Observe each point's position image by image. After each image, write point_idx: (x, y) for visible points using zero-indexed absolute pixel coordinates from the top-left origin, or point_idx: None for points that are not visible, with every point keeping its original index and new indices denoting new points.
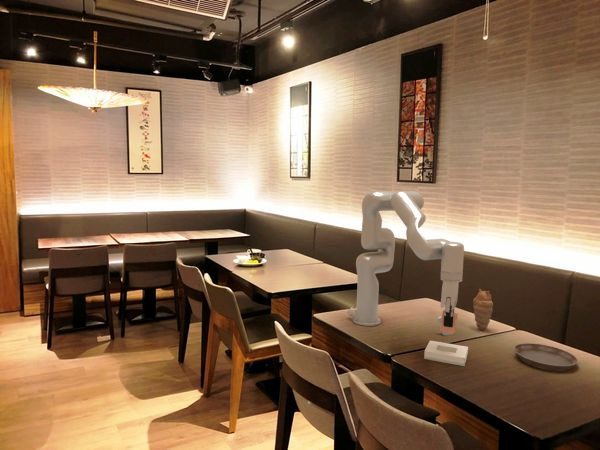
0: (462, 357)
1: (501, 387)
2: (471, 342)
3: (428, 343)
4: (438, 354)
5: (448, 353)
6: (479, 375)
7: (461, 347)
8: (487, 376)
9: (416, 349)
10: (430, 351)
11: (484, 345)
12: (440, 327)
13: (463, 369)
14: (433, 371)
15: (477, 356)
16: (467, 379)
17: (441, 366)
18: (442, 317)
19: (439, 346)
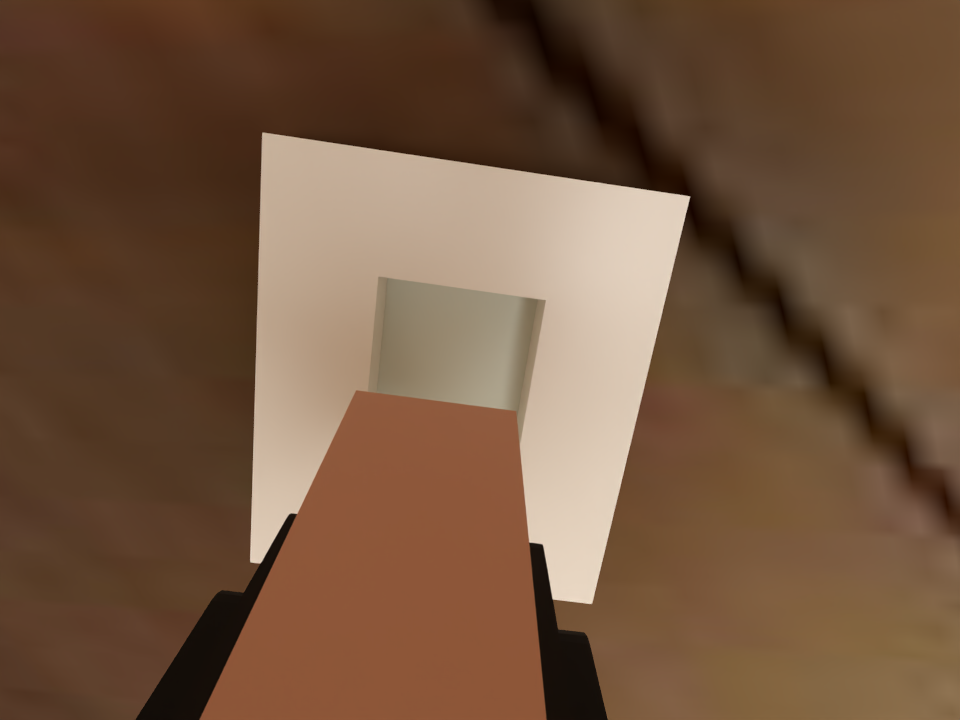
0: (253, 541)
1: (5, 717)
2: (925, 598)
3: (563, 178)
4: (261, 304)
5: (305, 414)
6: (141, 607)
7: (550, 544)
8: (153, 655)
9: (564, 31)
10: (272, 210)
11: (860, 689)
12: (342, 426)
13: (203, 502)
14: (6, 246)
15: (562, 621)
16: (5, 521)
17: (174, 321)
18: (259, 616)
19: (542, 315)
